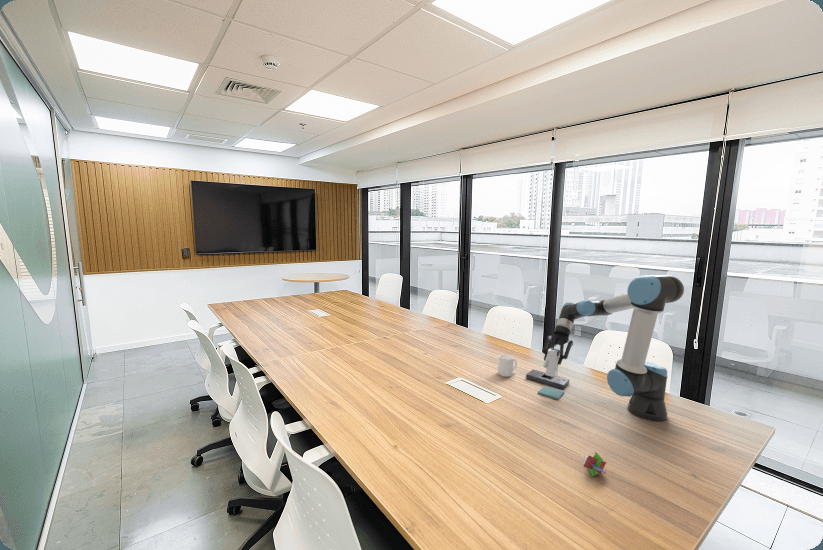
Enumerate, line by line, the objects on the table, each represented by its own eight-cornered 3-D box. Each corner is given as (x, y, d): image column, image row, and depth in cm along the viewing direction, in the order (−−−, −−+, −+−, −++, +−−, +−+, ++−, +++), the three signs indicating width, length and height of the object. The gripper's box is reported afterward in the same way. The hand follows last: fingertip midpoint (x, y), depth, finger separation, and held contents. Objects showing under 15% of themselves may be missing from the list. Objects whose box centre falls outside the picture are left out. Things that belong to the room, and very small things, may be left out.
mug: (511, 369, 209) (512, 352, 207) (521, 375, 201) (522, 357, 200) (494, 372, 204) (495, 355, 202) (504, 378, 196) (505, 360, 195)
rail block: (569, 383, 191) (569, 379, 191) (563, 389, 183) (563, 384, 183) (532, 373, 204) (533, 369, 203) (525, 378, 196) (526, 374, 196)
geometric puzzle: (604, 460, 122) (592, 443, 121) (616, 474, 116) (603, 456, 115) (586, 472, 123) (574, 455, 122) (597, 486, 116) (585, 468, 115)
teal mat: (564, 393, 179) (564, 391, 179) (557, 400, 171) (558, 398, 171) (544, 387, 185) (544, 385, 185) (537, 393, 178) (537, 391, 178)
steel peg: (557, 374, 178) (559, 349, 176) (554, 377, 175) (556, 352, 173) (548, 372, 181) (550, 347, 179) (545, 374, 177) (547, 350, 176)
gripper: (581, 336, 182) (569, 376, 171) (547, 329, 193) (534, 366, 182) (580, 328, 177) (567, 369, 166) (545, 321, 188) (530, 359, 177)
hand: (549, 367), depth 174 cm, fingers closed on steel peg, 4 cm apart
